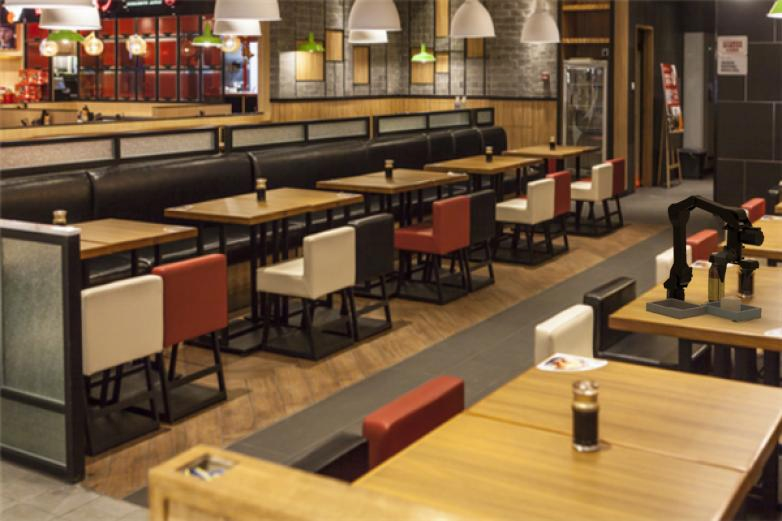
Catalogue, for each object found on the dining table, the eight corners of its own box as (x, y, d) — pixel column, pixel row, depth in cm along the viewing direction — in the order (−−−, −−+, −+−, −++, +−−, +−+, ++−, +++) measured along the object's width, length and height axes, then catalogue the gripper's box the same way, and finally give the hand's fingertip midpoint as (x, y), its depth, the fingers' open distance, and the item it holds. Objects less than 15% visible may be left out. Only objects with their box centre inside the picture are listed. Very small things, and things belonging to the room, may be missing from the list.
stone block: (720, 313, 375) (721, 297, 374) (729, 311, 378) (730, 296, 377) (731, 316, 371) (732, 300, 370) (740, 314, 374) (741, 298, 373)
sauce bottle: (722, 301, 398) (725, 251, 394) (725, 305, 392) (728, 254, 388) (705, 301, 399) (707, 251, 395) (708, 304, 392) (711, 254, 389)
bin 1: (645, 311, 381) (646, 302, 380) (671, 307, 388) (671, 298, 388) (679, 320, 367) (680, 311, 367) (705, 315, 374) (705, 306, 374)
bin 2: (700, 313, 378) (700, 304, 377) (724, 308, 385) (725, 299, 385) (736, 322, 364) (737, 312, 364) (761, 317, 371) (761, 308, 371)
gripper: (699, 241, 373) (697, 282, 376) (741, 248, 358) (738, 291, 361) (719, 238, 379) (717, 279, 382) (761, 245, 364) (758, 287, 366)
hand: (732, 284), depth 373 cm, fingers open, 9 cm apart
